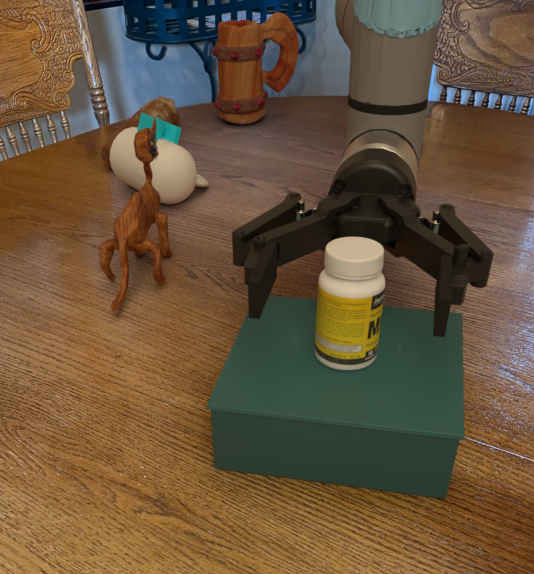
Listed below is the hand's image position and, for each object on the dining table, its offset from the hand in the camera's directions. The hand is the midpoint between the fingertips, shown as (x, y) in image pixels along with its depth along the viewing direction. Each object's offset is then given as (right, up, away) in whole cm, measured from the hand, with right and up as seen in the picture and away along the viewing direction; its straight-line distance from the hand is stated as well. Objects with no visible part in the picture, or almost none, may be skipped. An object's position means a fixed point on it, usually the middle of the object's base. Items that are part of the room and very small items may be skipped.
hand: (346, 309), depth 46 cm
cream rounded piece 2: (-18, +27, +48) cm, 57 cm away
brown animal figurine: (-19, +10, +29) cm, 36 cm away
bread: (-24, +38, +60) cm, 75 cm away
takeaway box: (+1, -6, +11) cm, 12 cm away
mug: (-7, +49, +73) cm, 88 cm away
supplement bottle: (+1, -2, +7) cm, 7 cm away
